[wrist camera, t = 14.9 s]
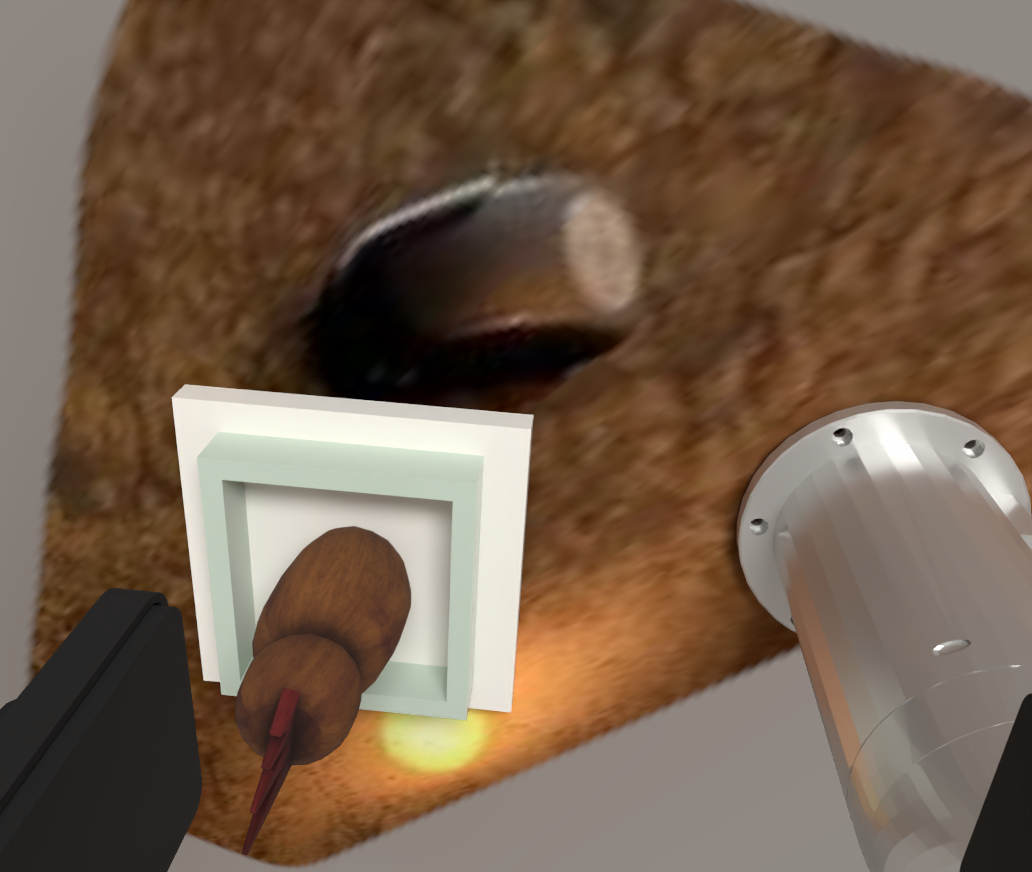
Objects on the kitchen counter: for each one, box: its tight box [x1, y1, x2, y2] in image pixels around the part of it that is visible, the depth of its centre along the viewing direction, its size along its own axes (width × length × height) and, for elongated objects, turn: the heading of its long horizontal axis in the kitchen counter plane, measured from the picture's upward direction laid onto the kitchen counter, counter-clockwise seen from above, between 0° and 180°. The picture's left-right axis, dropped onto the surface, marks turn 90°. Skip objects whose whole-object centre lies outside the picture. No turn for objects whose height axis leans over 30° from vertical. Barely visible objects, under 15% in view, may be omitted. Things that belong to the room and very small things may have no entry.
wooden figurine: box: [236, 526, 411, 855], centre depth 38 cm, size 7×6×15 cm
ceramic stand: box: [172, 384, 534, 720], centre depth 44 cm, size 16×16×4 cm
